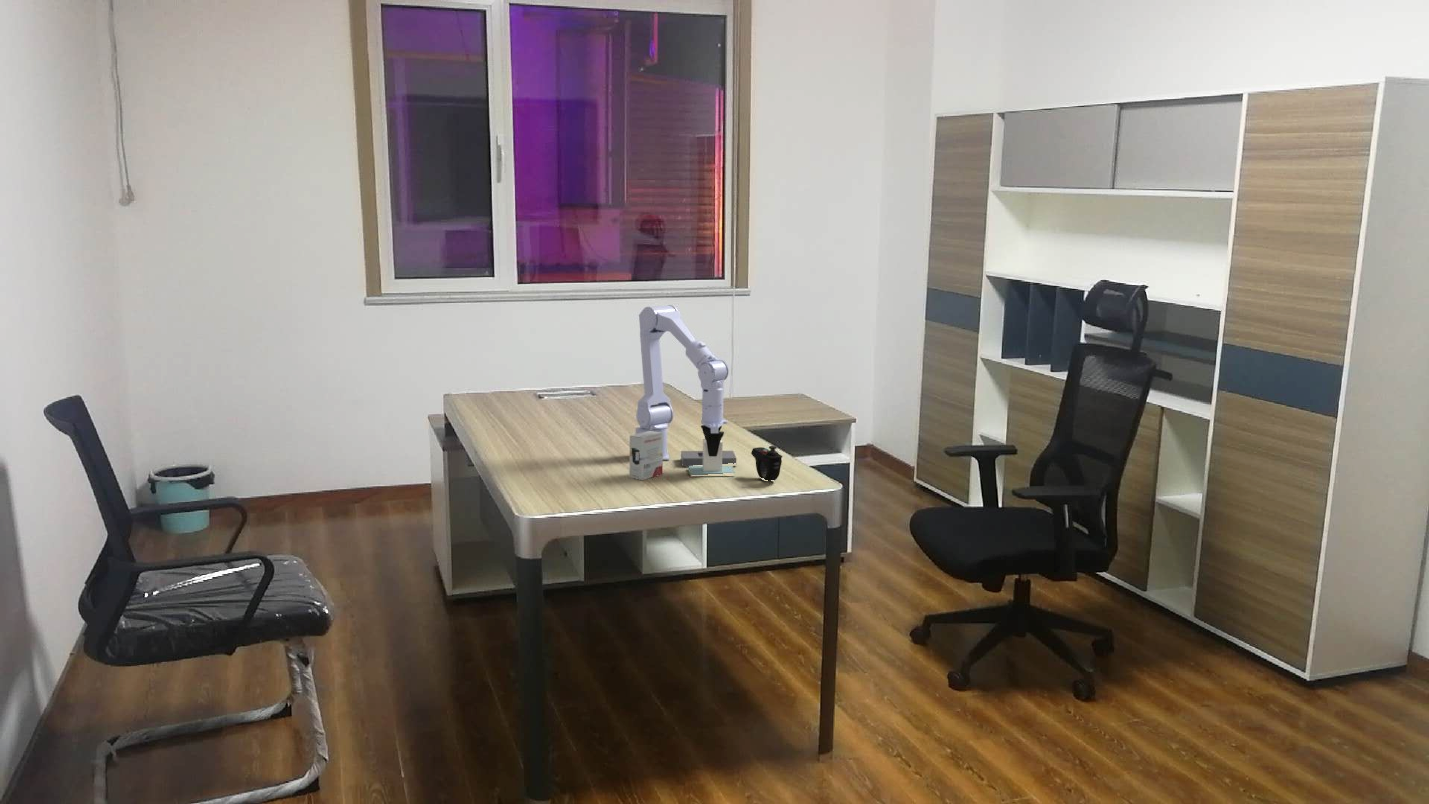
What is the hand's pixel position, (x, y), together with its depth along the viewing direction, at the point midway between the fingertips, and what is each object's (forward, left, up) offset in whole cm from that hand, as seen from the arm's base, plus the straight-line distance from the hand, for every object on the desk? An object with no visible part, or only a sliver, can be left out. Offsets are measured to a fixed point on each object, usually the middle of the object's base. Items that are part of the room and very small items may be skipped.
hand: (711, 453), depth 300 cm
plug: (0, 0, -4) cm, 4 cm away
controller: (+14, -8, -6) cm, 17 cm away
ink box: (-18, -3, -6) cm, 19 cm away
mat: (0, 0, -5) cm, 5 cm away
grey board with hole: (0, +11, -5) cm, 12 cm away
